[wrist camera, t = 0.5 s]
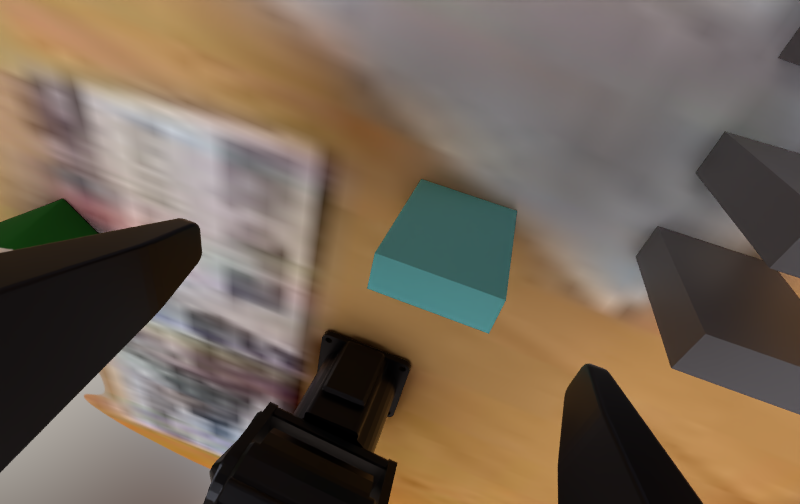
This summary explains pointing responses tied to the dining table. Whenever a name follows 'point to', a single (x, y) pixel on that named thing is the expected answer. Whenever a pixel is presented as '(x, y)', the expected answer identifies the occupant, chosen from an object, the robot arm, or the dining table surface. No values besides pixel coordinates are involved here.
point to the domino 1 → (448, 255)
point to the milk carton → (43, 227)
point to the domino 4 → (792, 50)
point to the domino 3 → (724, 317)
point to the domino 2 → (759, 196)
